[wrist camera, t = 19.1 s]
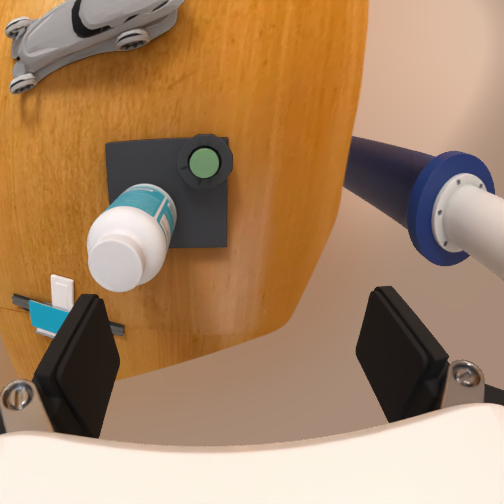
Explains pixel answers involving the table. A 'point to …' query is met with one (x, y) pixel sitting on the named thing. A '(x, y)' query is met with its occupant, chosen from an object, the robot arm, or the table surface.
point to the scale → (177, 183)
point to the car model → (83, 34)
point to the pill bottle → (131, 238)
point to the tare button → (204, 163)
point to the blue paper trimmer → (54, 308)
